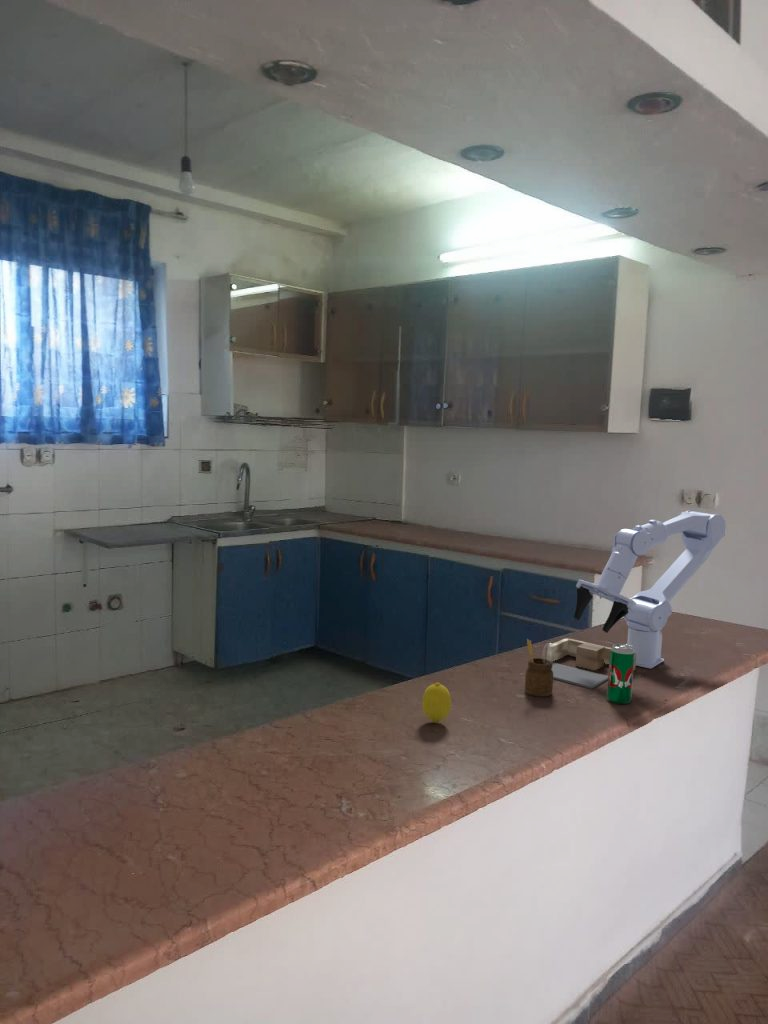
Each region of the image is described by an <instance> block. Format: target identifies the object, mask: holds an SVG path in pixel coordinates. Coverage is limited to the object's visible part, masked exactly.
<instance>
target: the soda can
mask: <svg viewBox="0 0 768 1024" xmlns="http://www.w3.org/2000/svg"><path fill="white" fill-rule="evenodd" d="M611 646H612V647H610V648H611V649H610V659H609V665H608V674H607V676H608V680H607V685H606V686H607V687H606V688H607V689H606V698H607V700H608V701H609V702H610V703H612V704H617V705H627V704H629V703H630V702H631V701H632V694H633V683H634V672H635V670H634V660H635V652H634V650H633V649H634V648H633V646H630V645H627V643H613V644H612V645H611Z"/></svg>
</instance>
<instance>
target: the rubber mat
mask: <svg viewBox="0 0 768 1024" xmlns="http://www.w3.org/2000/svg"><path fill="white" fill-rule="evenodd" d="M552 671H553V680H557V681H560V682H565V683H567V684H572V685H576V686H578V687H579V686H580V687H582V688H587V689H590V690H591V689H594V688H596V687H597V686H599V685H601V684H603V683H604V682H607V681H608V675H605V674H603V673H597V672H595V671H591V670H586V669H583V668H578V667H573V666H571V665H570V666H568V665H565V664H560V663H557V662H552Z"/></svg>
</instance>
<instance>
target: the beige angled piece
mask: <svg viewBox="0 0 768 1024" xmlns="http://www.w3.org/2000/svg"><path fill="white" fill-rule="evenodd" d="M584 643H588V642H587V641H586V642H585V641H582V640H577V639H573V638H568V637H565V638H563V639H561V640H558V641H556V642H553V643H552V644H553V645H554V649H553V645H551V644H550V645H549V644H548V645H547V651H548V652H546V655H547V656H546V659H547V658H548V659H547V660H550V661H551V662H553V661H554V662H555V660H556V661H557V660H560V659H563V658H564V656H565V657H566V655H567V656H569V655H570V657H574V658H576V653H577V646H579V645H581V644H584ZM589 643H590V644H592V643H591V642H589ZM594 644H595V643H594ZM595 645H597V644H595ZM598 645H599V646H601V644H598ZM550 646H551V647H550ZM603 646H604V645H603ZM548 647H549V648H548ZM604 647H605V654H604V663H605V664H604V665H607V664H609V659H610V649H611V648H612V647H608V646H604ZM549 650H550V651H549ZM551 651H552V653H554V654H552V653H551ZM551 656H553V657H551ZM549 658H552V659H549ZM554 662H553V663H554ZM636 666H637V665H636V653H635V660H634V671H635V670H636V668H637V667H636Z"/></svg>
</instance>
